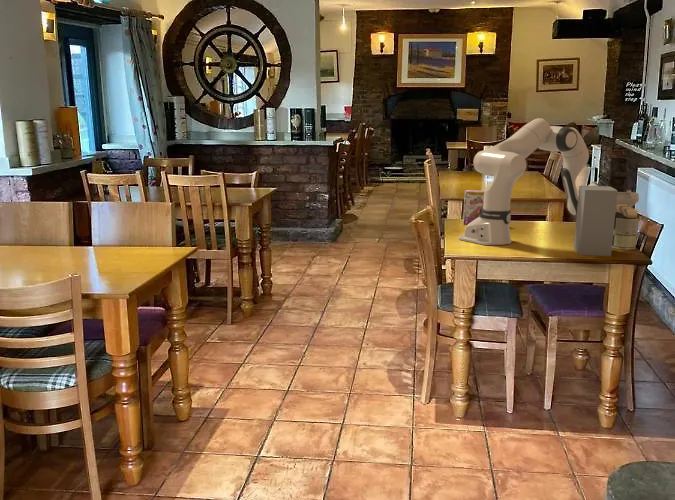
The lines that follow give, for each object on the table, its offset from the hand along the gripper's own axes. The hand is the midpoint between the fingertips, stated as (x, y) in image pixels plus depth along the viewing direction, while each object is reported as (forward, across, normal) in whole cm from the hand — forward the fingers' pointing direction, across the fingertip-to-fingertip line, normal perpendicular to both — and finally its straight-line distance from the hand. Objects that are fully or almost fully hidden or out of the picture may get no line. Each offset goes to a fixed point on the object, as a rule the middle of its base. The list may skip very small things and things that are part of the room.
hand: (617, 191), depth 290 cm
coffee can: (+3, 0, +26) cm, 27 cm away
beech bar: (+10, 0, +14) cm, 17 cm away
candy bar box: (-31, -59, +7) cm, 67 cm away
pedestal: (+13, -15, +32) cm, 38 cm away
